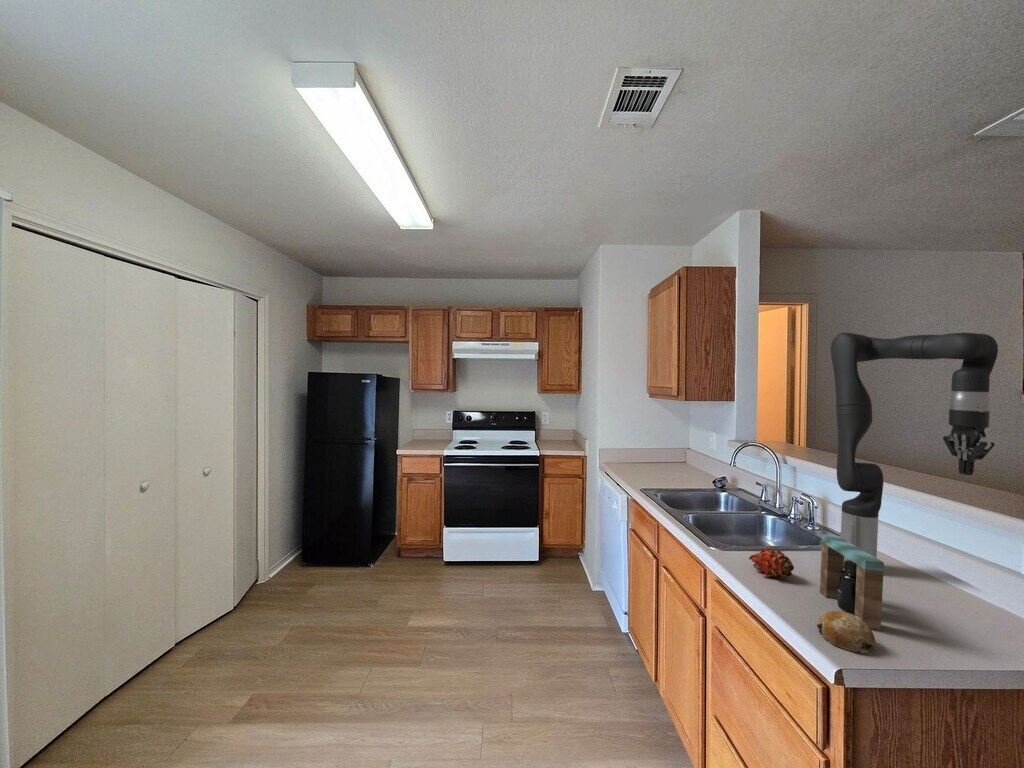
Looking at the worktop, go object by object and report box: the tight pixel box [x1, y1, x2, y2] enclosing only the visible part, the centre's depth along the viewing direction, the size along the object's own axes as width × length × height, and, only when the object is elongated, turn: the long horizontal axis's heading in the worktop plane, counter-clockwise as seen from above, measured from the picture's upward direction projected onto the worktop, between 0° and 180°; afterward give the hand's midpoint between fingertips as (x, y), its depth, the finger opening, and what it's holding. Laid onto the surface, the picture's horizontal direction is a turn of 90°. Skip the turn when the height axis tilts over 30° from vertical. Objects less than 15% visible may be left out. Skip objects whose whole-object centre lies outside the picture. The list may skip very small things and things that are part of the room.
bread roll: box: [815, 610, 876, 655], centre depth 101 cm, size 10×10×8 cm
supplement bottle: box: [836, 560, 857, 616], centre depth 115 cm, size 7×7×12 cm
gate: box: [819, 534, 885, 631], centre depth 115 cm, size 18×4×16 cm, turn 173°
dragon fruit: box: [748, 547, 795, 579], centre depth 134 cm, size 8×8×12 cm
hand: (965, 474), depth 119 cm, fingers closed
